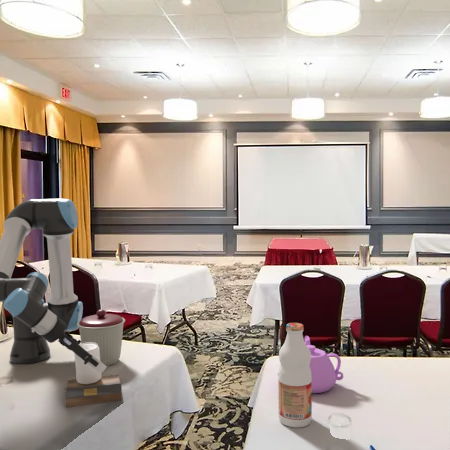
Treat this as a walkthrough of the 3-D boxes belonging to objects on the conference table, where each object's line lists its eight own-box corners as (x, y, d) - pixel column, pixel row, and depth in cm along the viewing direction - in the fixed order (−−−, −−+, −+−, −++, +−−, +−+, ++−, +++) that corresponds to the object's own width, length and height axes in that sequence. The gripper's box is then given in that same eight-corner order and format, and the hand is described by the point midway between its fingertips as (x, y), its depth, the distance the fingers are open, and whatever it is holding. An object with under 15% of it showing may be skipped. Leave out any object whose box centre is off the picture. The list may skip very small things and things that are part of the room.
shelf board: (67, 387, 160) (67, 371, 160) (118, 381, 165) (118, 365, 165) (65, 407, 145) (64, 390, 144) (121, 400, 149) (121, 383, 149)
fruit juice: (272, 416, 137) (272, 322, 136) (300, 410, 141) (300, 319, 139) (288, 431, 129) (288, 331, 127) (318, 424, 132) (318, 327, 130)
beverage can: (94, 386, 154) (91, 352, 152) (72, 384, 156) (69, 350, 154) (105, 375, 162) (103, 342, 160) (84, 373, 164) (81, 340, 162)
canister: (88, 354, 193) (87, 304, 192) (131, 355, 192) (130, 304, 191) (70, 370, 176) (68, 315, 174) (117, 371, 174) (116, 315, 173)
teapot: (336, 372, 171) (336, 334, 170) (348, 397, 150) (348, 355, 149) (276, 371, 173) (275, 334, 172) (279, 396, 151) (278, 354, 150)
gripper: (34, 326, 158) (80, 361, 166) (48, 346, 136) (101, 385, 145) (50, 309, 160) (95, 344, 169) (66, 325, 139) (117, 365, 147)
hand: (98, 363), depth 157 cm, fingers open, 13 cm apart
